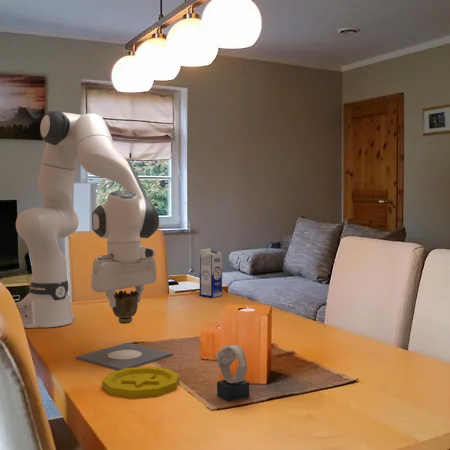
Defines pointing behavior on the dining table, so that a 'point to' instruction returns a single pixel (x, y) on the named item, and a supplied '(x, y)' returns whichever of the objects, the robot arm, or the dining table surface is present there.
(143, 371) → the decorative disc
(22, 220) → the robot arm
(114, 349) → the charcoal mat
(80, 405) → the dining table surface
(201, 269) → the milk carton
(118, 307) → the cup
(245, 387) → the watch
